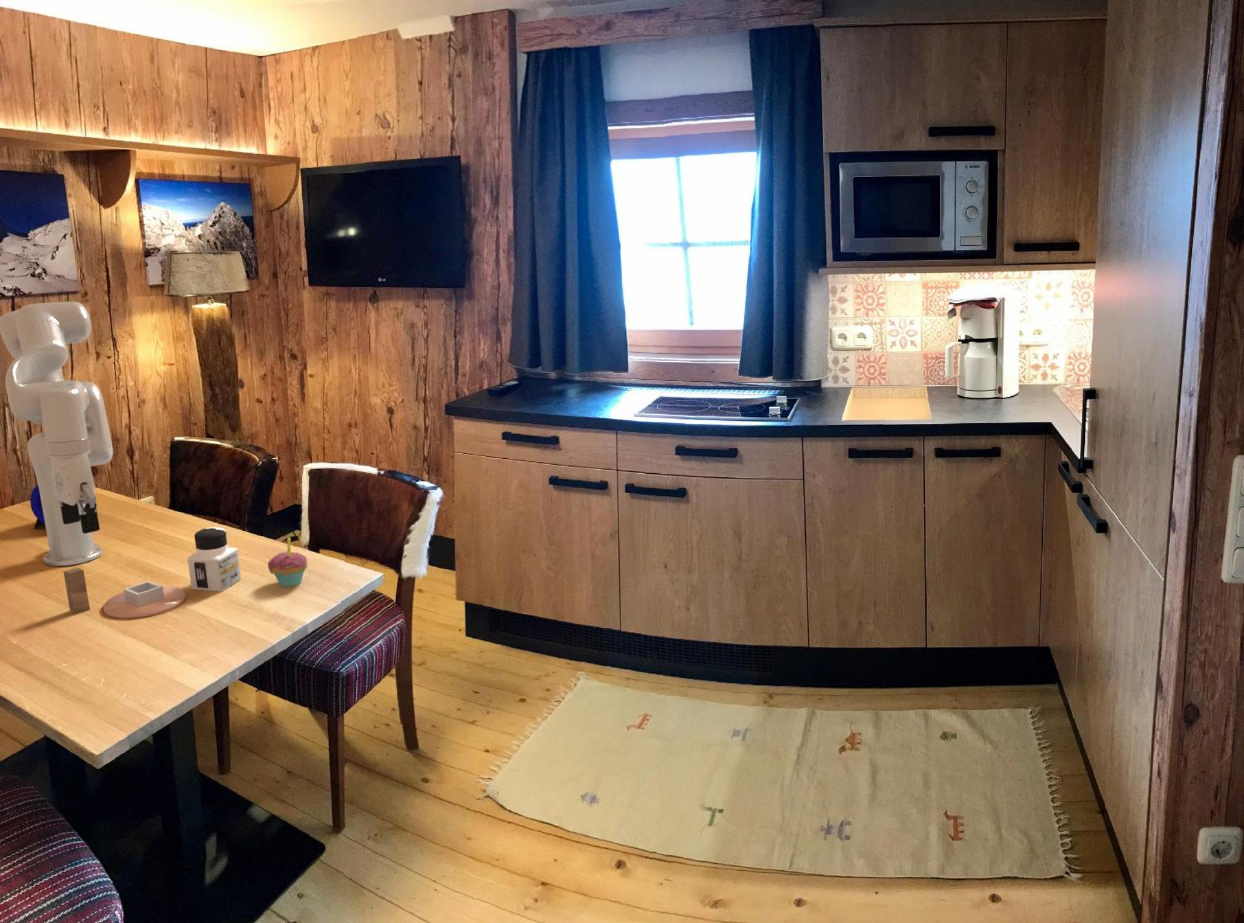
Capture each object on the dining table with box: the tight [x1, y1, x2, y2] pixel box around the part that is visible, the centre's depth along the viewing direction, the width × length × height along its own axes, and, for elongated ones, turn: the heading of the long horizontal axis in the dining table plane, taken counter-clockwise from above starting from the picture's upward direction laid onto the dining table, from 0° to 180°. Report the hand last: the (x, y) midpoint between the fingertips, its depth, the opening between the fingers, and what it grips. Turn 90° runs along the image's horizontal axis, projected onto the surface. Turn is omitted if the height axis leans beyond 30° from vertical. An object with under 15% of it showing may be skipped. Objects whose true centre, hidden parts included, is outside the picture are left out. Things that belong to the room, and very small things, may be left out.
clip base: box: [103, 580, 186, 620], centre depth 212 cm, size 16×16×4 cm
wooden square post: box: [63, 567, 91, 615], centre depth 208 cm, size 3×3×9 cm
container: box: [187, 526, 242, 593], centre depth 221 cm, size 8×8×13 cm
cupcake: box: [267, 535, 309, 588], centre depth 221 cm, size 9×8×12 cm
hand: (81, 527), depth 205 cm, fingers open, 9 cm apart
